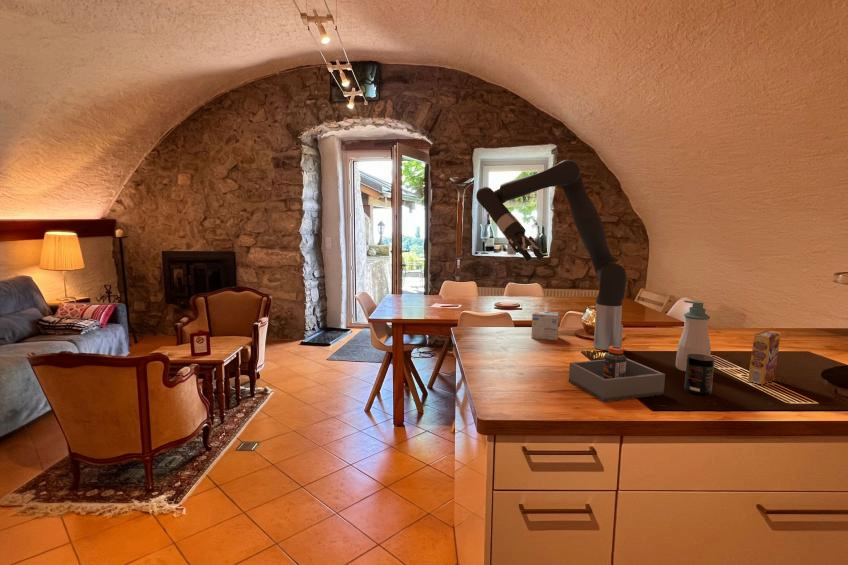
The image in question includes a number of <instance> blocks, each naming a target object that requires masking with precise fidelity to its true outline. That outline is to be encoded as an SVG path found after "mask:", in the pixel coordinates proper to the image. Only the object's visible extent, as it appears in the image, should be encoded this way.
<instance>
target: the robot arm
mask: <svg viewBox="0 0 848 565" xmlns="http://www.w3.org/2000/svg"><path fill="white" fill-rule="evenodd" d="M556 186H557V187H558V186H560V187H561V189H562V191H563V193H564V195H565V197H566V199H567V201H568V206H569V209H570V213H571V217H572V219H573V223H574V226H575V228H576V231H577V233H578V235H579V236H580V239H581V241H582V243H583V245H584V247H585V249H586V251H587V253H588V254H589V257H590V260H591V262H592V267H593V269H594V272H595V273H594V274H595V276H596V279H597V281H599V290H598V294H597V296H596V299H595V300H596V303H595V316H594V317H595V319H594V337H593V348H595V349H598V350H602V351H608V349H609V346H619V347H622V346H623V330H624V325H623V323H622V311H623V301H624V298H625V295H626V286H627V284H626V283H627V273H626V269H625V268H624V267H623V266H622V265H621V264H619V263H617V262H616V261H615V259H614V257H613V255H612V253H611V251H610V248H609V246H608V241H607V235H606V230H605V225H604V223H603V220H602V219H601V216H600V213H599V212H598V211H599V210H597V208H596V206H595V204H594V203H593V201H592V198H591V197H590V196H589V194H588V192H587V189H586V187H585V184H584V182H583V178H582V174H581V169H580V166H579V164H578V163H577V162H576V161H575V160H572V159H564V160H562V161H560V162H558V163H557V164H555V165H553V166H551V167H549V168H547V169H544V170H543V171H540V172H537V173H533V174H529V175H527V176H523V177H519V178H516V179H513V180H509V181H506V182H503V183H502V184H501V185H500V187H499V188H498V189H496V190H493V189H492V188H491V187H489V186H482V187H479V189H478V190H477V192H476V196H475V197H476V200H477V202H478V203H479V204H480V205H481V207H482V208H483V209H484V210H485V211H486V212H487V213H488V215H489V216H490V218H491V219H492V221H493V222H494V223H495V224H496V226H497V227H498V229H499V231H500V232H501V233H502V234H503V237H505V238H506V240H507V242H508V244H509V245H510V247H511V248H512V249H513V250H514V252H515V253H517V254H520V255H521V256H522V258H524V260H525V261H526V262H530V261H531V260H532V259H533V256H532V255H531V254H530V253H529V252H528V251H530V252H532V253H533V254H534V255H535V257H536V258H537V259H538V261H541V260H543V258H544V254H543V253H542V252H541V251H540V248H541V246H540V245H539V244H538V242H537V241H536V240H535V238H533V237H532V236H531V235H530V236H529V237H527V236H526V228H525V227H524V226H523V225H522V224H521V223H520V221H519V220H518V219H517V217H515V215H514V214H513V213H512V212H511V211H510V210H509V208H507V206H506V205H504V204H505V203H506V202H509V201H512V200H516V199H519V198H522V197H524V196H527V195H529V194H532V193H534V192H537V191H540V190H543V189H547V188H552V187H556ZM622 348H623V347H622Z"/></svg>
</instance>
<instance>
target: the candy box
mask: <svg viewBox="0 0 848 565" xmlns="http://www.w3.org/2000/svg"><path fill="white" fill-rule="evenodd" d="M781 335H782V333H781V332H778V331H771V330H764V331H759V332H758V333H754V337H753V341H752V342H753V343H752V349H751V355H750V356H751V357H750V362H749V370H748V377H747V382H748V381H749V382H748V383H751V382H753V383H752V384H755V383H757V384H756V385H758V384H761V385H760V386H764V385H766V384H768V383H767V382H769V383H770V381H771V382H773V381H775V376H776V369H777V364H778V363H777V362H778V357H779V356H778V355H779V350H780V342H781ZM772 380H773V381H772ZM765 383H766V384H765ZM763 384H764V385H763Z"/></svg>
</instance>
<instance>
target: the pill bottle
mask: <svg viewBox="0 0 848 565" xmlns="http://www.w3.org/2000/svg"><path fill="white" fill-rule="evenodd" d="M626 358H627V356H626V355H625V354H624V347H619V346H609V349H608V350H607V352H606V353H605V355H604V359H603V360H604V372H603V378H604V379H610V378H620V377H625V373H626Z"/></svg>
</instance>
